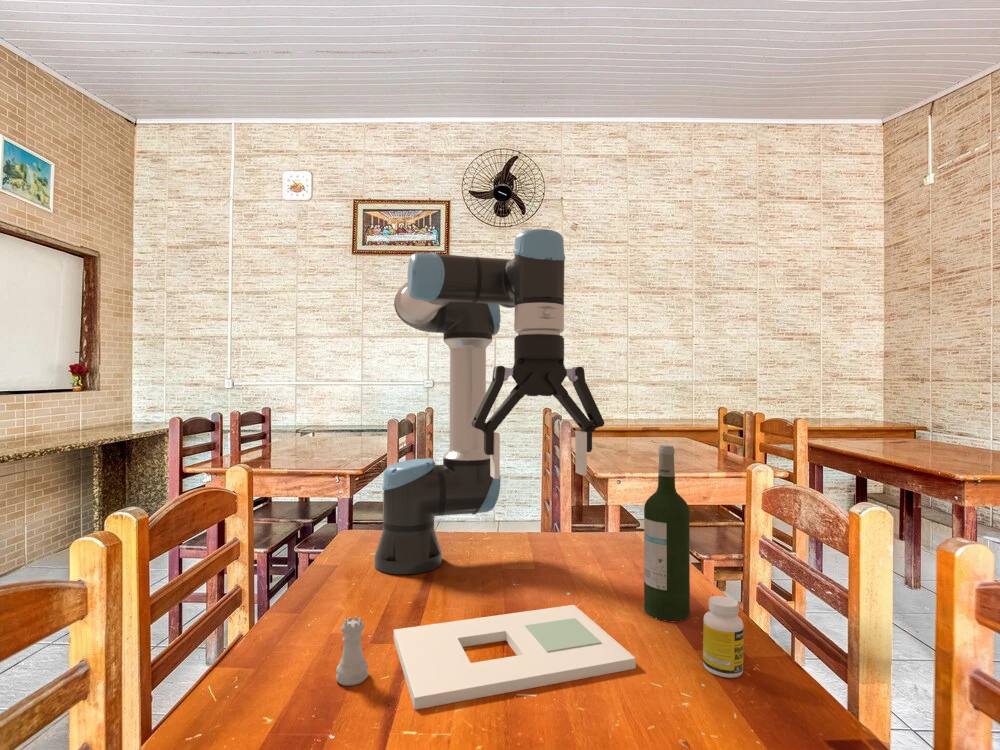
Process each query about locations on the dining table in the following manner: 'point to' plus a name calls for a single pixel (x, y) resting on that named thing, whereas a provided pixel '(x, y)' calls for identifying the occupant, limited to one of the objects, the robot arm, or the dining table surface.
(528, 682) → the hole board
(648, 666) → the dining table surface
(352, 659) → the rook chess piece
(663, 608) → the wine bottle
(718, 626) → the supplement bottle
